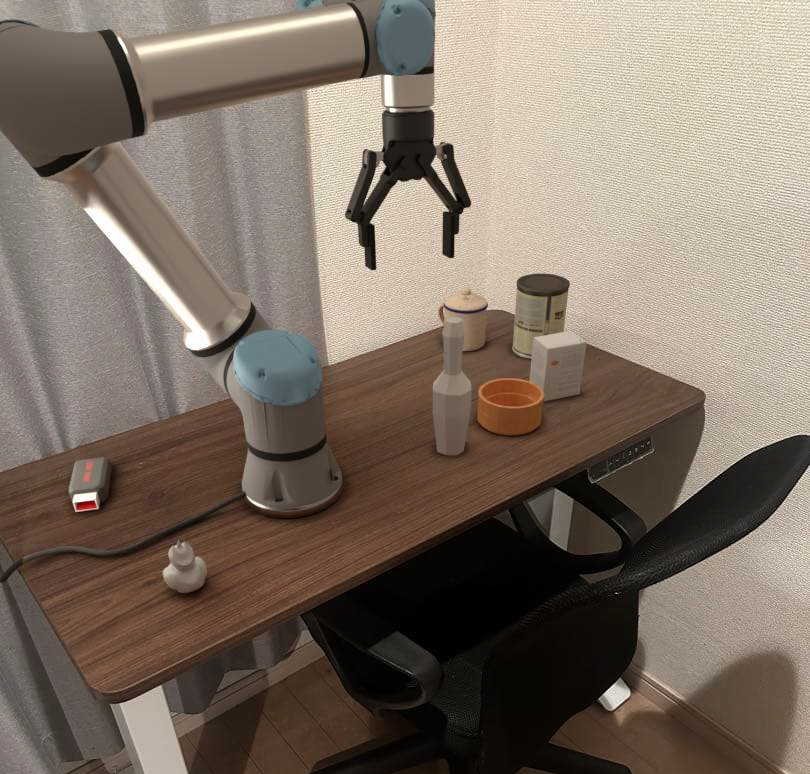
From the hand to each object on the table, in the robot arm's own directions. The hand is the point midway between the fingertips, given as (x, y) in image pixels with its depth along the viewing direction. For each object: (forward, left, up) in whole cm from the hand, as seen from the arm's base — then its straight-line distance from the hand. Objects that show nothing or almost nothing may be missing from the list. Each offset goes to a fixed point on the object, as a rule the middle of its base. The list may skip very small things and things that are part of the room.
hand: (410, 262), depth 119 cm
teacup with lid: (+26, +19, -27) cm, 42 cm away
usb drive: (-55, +10, -27) cm, 61 cm away
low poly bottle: (-3, -14, -27) cm, 30 cm away
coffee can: (+36, +6, -27) cm, 45 cm away
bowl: (+11, -13, -26) cm, 32 cm away
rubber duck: (-52, -20, -27) cm, 62 cm away
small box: (+25, -10, -27) cm, 38 cm away
